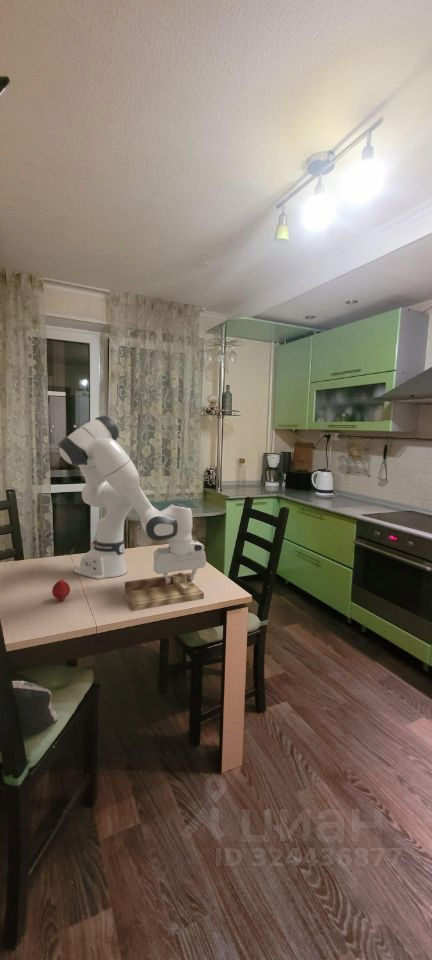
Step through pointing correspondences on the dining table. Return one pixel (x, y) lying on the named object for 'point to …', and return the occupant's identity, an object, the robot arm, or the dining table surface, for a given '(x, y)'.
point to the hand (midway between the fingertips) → (179, 581)
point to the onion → (60, 589)
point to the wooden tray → (158, 592)
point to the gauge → (181, 583)
